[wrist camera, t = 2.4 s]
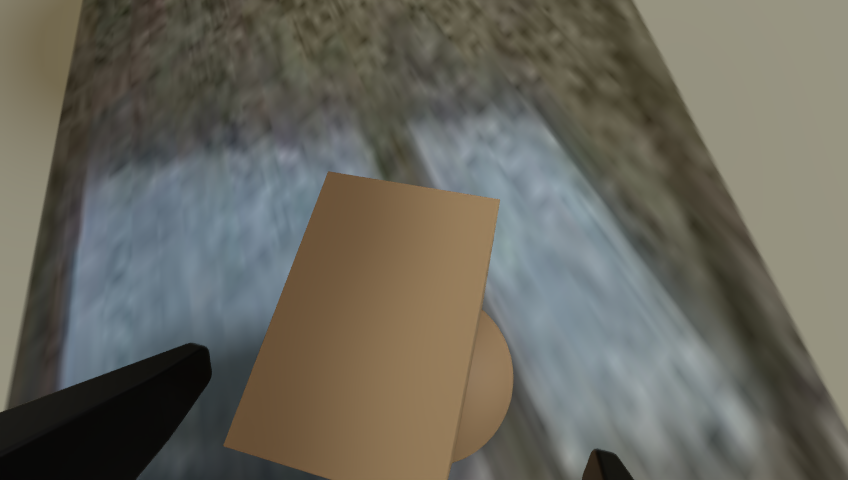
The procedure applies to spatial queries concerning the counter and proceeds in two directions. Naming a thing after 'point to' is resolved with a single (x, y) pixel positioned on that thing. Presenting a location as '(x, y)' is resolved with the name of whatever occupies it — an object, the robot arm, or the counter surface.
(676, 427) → the counter surface
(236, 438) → the brown upright block
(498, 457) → the counter surface
